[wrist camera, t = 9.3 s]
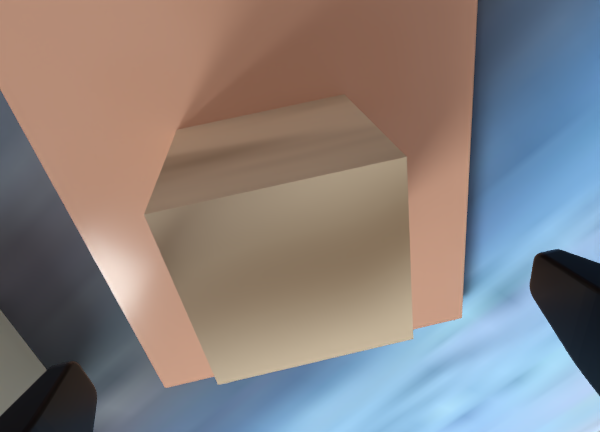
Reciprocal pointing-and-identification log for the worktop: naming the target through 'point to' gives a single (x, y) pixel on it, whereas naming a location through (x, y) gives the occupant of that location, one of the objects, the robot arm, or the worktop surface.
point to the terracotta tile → (228, 104)
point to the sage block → (15, 365)
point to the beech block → (286, 236)
